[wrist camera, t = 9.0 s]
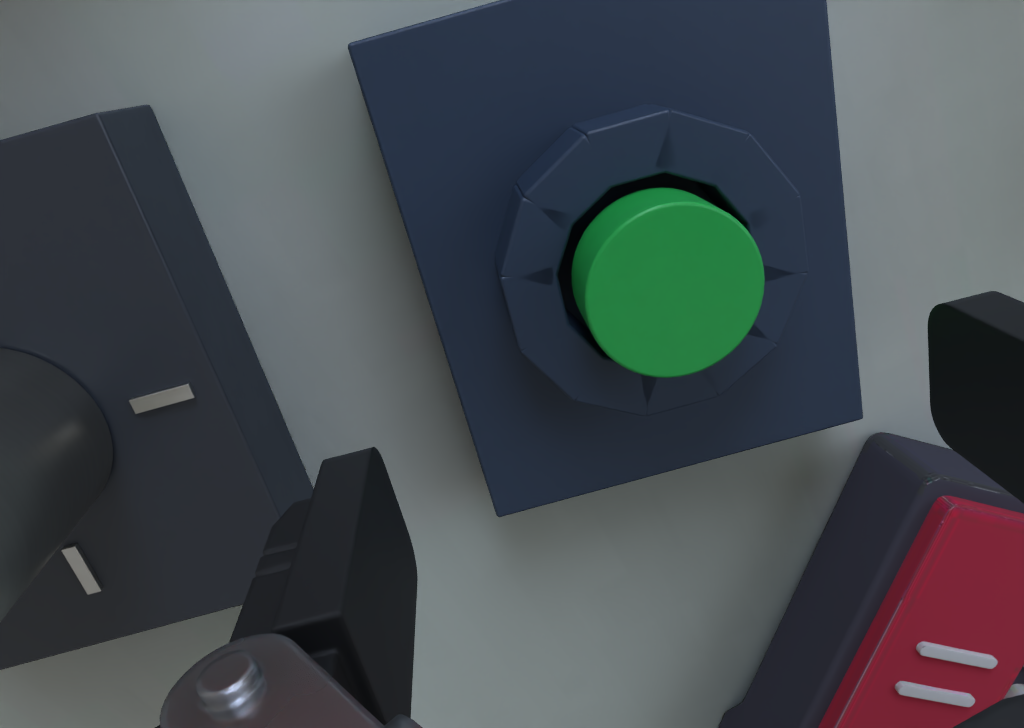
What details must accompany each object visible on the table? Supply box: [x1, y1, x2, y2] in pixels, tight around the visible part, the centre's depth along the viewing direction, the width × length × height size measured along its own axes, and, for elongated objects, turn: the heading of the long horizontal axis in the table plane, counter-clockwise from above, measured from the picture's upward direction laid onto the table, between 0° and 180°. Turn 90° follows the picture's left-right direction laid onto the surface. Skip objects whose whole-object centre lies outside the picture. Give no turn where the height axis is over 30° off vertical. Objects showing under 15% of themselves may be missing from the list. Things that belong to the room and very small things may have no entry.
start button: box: [571, 187, 765, 378], centre depth 16 cm, size 4×4×2 cm
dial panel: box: [0, 105, 313, 670], centre depth 19 cm, size 12×10×3 cm
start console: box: [348, 0, 863, 517], centre depth 18 cm, size 12×10×4 cm
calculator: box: [719, 432, 1024, 728], centre depth 24 cm, size 11×4×15 cm
